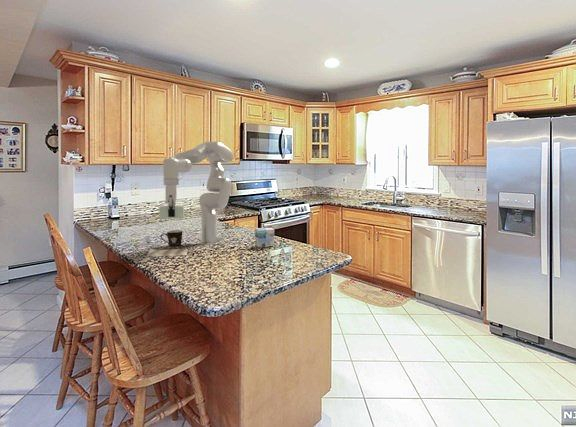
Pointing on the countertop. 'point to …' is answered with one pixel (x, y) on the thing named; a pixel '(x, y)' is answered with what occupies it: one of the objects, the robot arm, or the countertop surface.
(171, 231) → the coffee mug
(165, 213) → the slotted block
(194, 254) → the countertop surface
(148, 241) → the t key
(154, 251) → the base plate
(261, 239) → the light bulb box
